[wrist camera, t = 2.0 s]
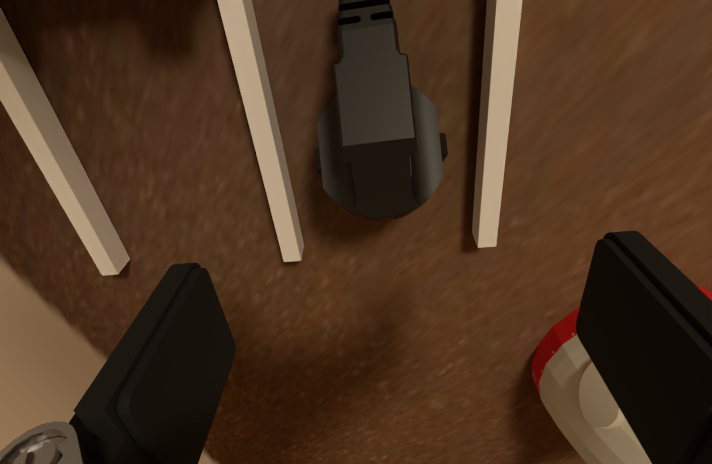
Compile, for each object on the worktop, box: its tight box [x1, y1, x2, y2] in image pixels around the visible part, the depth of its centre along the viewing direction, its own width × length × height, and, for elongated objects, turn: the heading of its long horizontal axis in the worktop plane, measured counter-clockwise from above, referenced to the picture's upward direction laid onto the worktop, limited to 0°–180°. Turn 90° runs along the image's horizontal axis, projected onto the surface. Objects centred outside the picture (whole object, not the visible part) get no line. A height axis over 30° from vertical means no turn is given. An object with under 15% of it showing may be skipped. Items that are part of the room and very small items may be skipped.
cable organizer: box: [0, 0, 522, 276], centre depth 18 cm, size 17×23×4 cm
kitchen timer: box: [531, 286, 712, 464], centre depth 24 cm, size 14×14×15 cm
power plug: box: [314, 0, 448, 221], centre depth 18 cm, size 6×8×12 cm
